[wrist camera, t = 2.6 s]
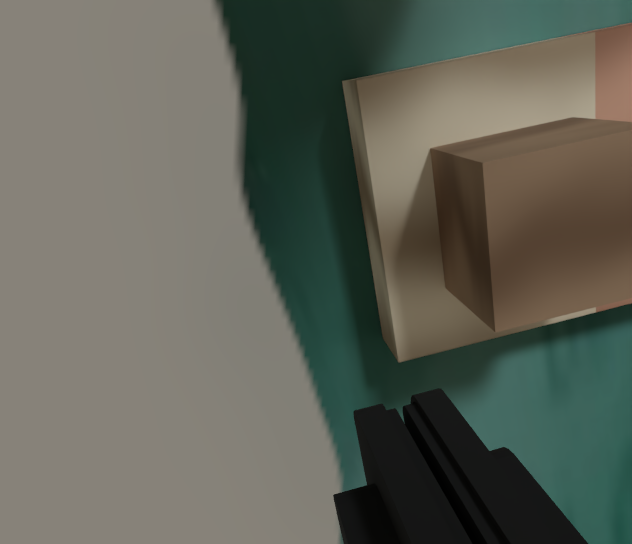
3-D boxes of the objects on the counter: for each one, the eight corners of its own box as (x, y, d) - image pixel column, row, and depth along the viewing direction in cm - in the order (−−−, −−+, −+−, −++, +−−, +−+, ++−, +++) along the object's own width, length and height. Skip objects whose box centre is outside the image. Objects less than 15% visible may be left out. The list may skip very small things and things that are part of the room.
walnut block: (429, 148, 21) (482, 162, 17) (572, 117, 21) (657, 124, 17) (445, 288, 23) (495, 332, 19) (574, 256, 24) (651, 293, 19)
